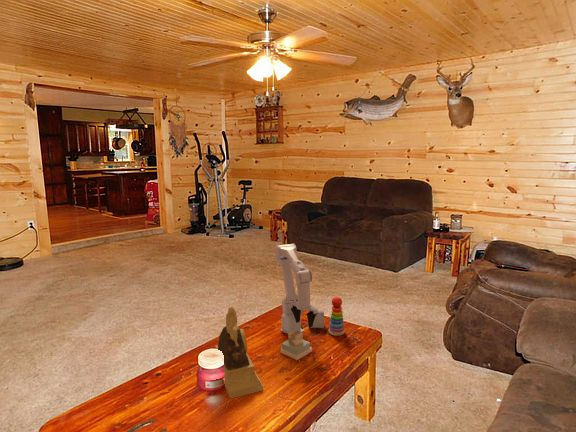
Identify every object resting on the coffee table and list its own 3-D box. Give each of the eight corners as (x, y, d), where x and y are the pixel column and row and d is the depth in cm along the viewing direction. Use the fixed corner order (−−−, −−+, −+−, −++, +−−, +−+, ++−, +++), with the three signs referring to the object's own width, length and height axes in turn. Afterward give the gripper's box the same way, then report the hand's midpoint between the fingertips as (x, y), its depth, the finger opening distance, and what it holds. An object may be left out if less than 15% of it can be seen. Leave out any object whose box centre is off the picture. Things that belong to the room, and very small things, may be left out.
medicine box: (324, 324, 202) (324, 308, 201) (324, 328, 198) (324, 312, 197) (308, 324, 203) (308, 308, 202) (308, 328, 199) (308, 312, 197)
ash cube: (288, 343, 175) (288, 333, 174) (295, 339, 178) (295, 329, 178) (296, 346, 172) (296, 336, 171) (303, 342, 175) (302, 332, 175)
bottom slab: (280, 353, 176) (280, 348, 175) (295, 345, 183) (295, 340, 182) (297, 361, 169) (297, 356, 168) (311, 352, 176) (311, 347, 176)
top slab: (281, 348, 175) (281, 343, 175) (294, 341, 182) (294, 336, 181) (297, 355, 169) (296, 350, 169) (310, 347, 176) (310, 342, 175)
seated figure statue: (263, 390, 148) (261, 315, 143) (229, 398, 143) (226, 322, 138) (243, 355, 174) (241, 290, 169) (214, 361, 169) (211, 295, 164)
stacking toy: (325, 332, 194) (325, 296, 191) (336, 327, 199) (337, 292, 196) (336, 338, 188) (336, 301, 185) (348, 333, 192) (348, 297, 189)
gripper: (286, 294, 179) (286, 322, 181) (310, 302, 170) (310, 331, 172) (296, 290, 184) (296, 318, 187) (320, 297, 175) (320, 326, 177)
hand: (304, 324), depth 179 cm, fingers open, 7 cm apart
